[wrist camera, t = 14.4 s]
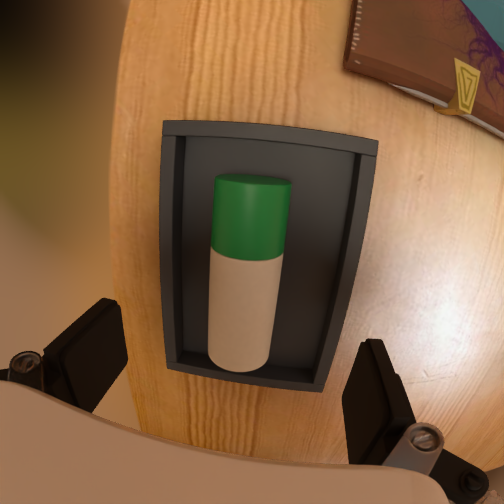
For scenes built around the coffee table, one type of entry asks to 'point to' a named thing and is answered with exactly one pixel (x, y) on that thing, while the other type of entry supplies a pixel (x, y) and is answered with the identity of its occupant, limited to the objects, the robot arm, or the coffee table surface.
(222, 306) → the marker
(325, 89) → the coffee table surface
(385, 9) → the book
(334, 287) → the tray
